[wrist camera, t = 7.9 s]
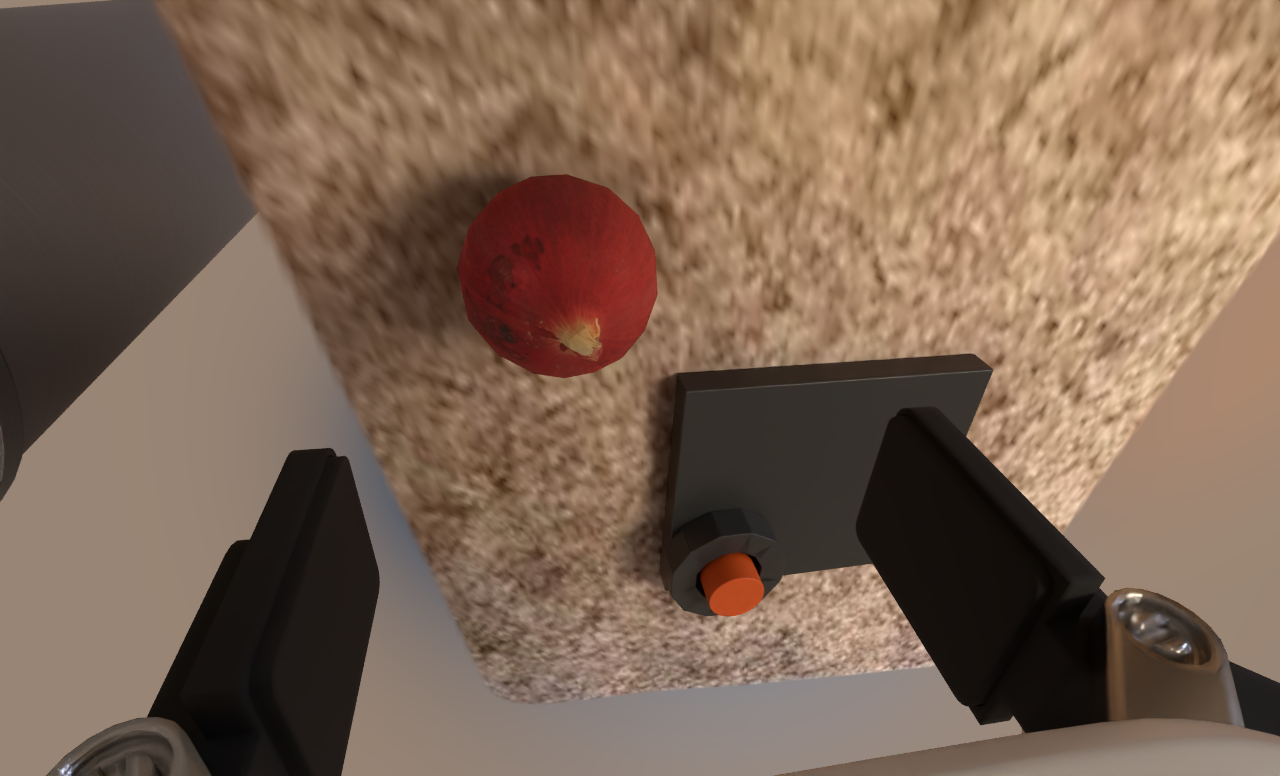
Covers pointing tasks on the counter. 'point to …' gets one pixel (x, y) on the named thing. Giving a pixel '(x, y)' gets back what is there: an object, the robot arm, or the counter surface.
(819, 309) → the counter surface
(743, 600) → the power button
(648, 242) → the onion
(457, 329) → the counter surface
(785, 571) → the scale
